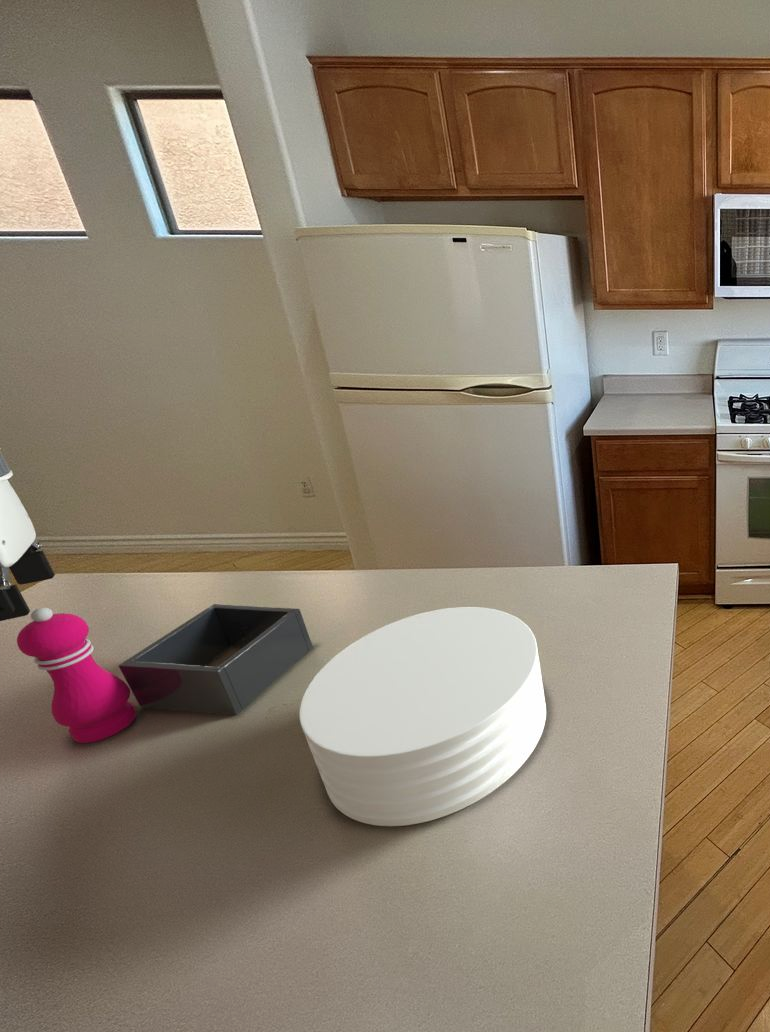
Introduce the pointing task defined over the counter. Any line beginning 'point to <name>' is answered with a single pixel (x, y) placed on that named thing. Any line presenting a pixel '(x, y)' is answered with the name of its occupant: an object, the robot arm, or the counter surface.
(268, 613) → the open box
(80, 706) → the pepper mill
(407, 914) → the counter surface
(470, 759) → the plate stack
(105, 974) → the counter surface
